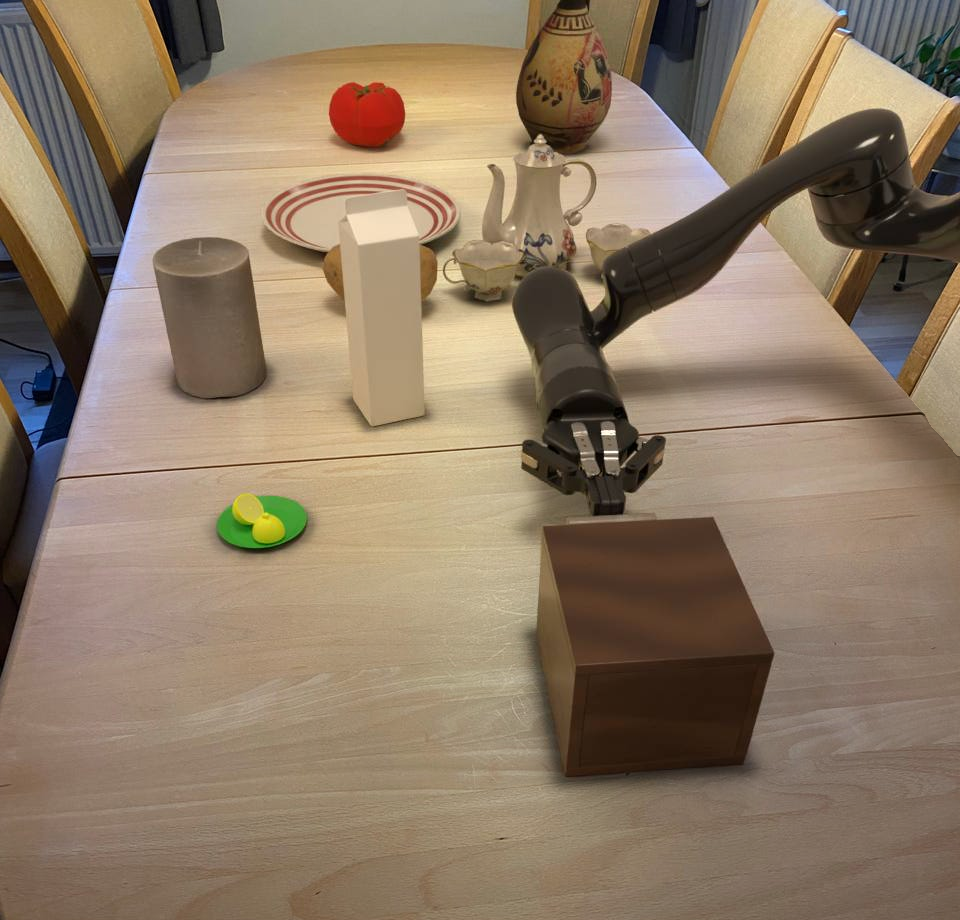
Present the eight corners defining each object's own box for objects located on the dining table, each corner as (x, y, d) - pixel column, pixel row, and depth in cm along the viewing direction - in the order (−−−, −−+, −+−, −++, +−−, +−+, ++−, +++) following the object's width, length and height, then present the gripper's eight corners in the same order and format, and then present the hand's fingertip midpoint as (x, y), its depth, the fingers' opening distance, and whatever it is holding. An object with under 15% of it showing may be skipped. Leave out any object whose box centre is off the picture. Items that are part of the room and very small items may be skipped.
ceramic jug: (579, 167, 164) (594, -57, 144) (497, 150, 170) (501, -68, 150) (627, 139, 174) (648, -73, 154) (549, 123, 180) (559, -83, 160)
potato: (339, 286, 130) (334, 223, 125) (447, 297, 128) (446, 233, 123) (314, 320, 123) (307, 254, 118) (428, 331, 121) (426, 265, 116)
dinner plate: (499, 241, 141) (499, 217, 139) (322, 288, 130) (319, 262, 128) (396, 183, 158) (395, 160, 156) (231, 220, 147) (228, 196, 144)
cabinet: (535, 634, 82) (542, 525, 75) (692, 624, 83) (713, 516, 76) (565, 777, 71) (576, 665, 64) (744, 763, 72) (775, 652, 65)
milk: (425, 416, 107) (420, 200, 92) (370, 428, 105) (355, 209, 90) (404, 389, 111) (396, 178, 96) (351, 399, 109) (334, 186, 94)
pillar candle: (223, 349, 118) (200, 216, 108) (285, 373, 114) (267, 238, 103) (158, 382, 112) (127, 246, 102) (221, 409, 108) (195, 270, 98)
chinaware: (468, 330, 125) (474, 195, 112) (417, 265, 135) (418, 135, 122) (665, 292, 133) (691, 162, 121) (604, 233, 143) (622, 108, 131)
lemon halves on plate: (200, 541, 91) (194, 515, 89) (247, 493, 97) (243, 468, 95) (279, 562, 89) (275, 536, 87) (323, 512, 94) (320, 486, 92)
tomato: (427, 142, 173) (425, 85, 167) (371, 160, 166) (367, 100, 160) (372, 124, 180) (368, 68, 174) (316, 140, 173) (310, 83, 167)
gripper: (508, 366, 91) (529, 478, 79) (654, 362, 92) (699, 471, 80) (506, 439, 96) (526, 554, 84) (644, 434, 97) (685, 548, 85)
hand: (610, 514), depth 82 cm, fingers closed
